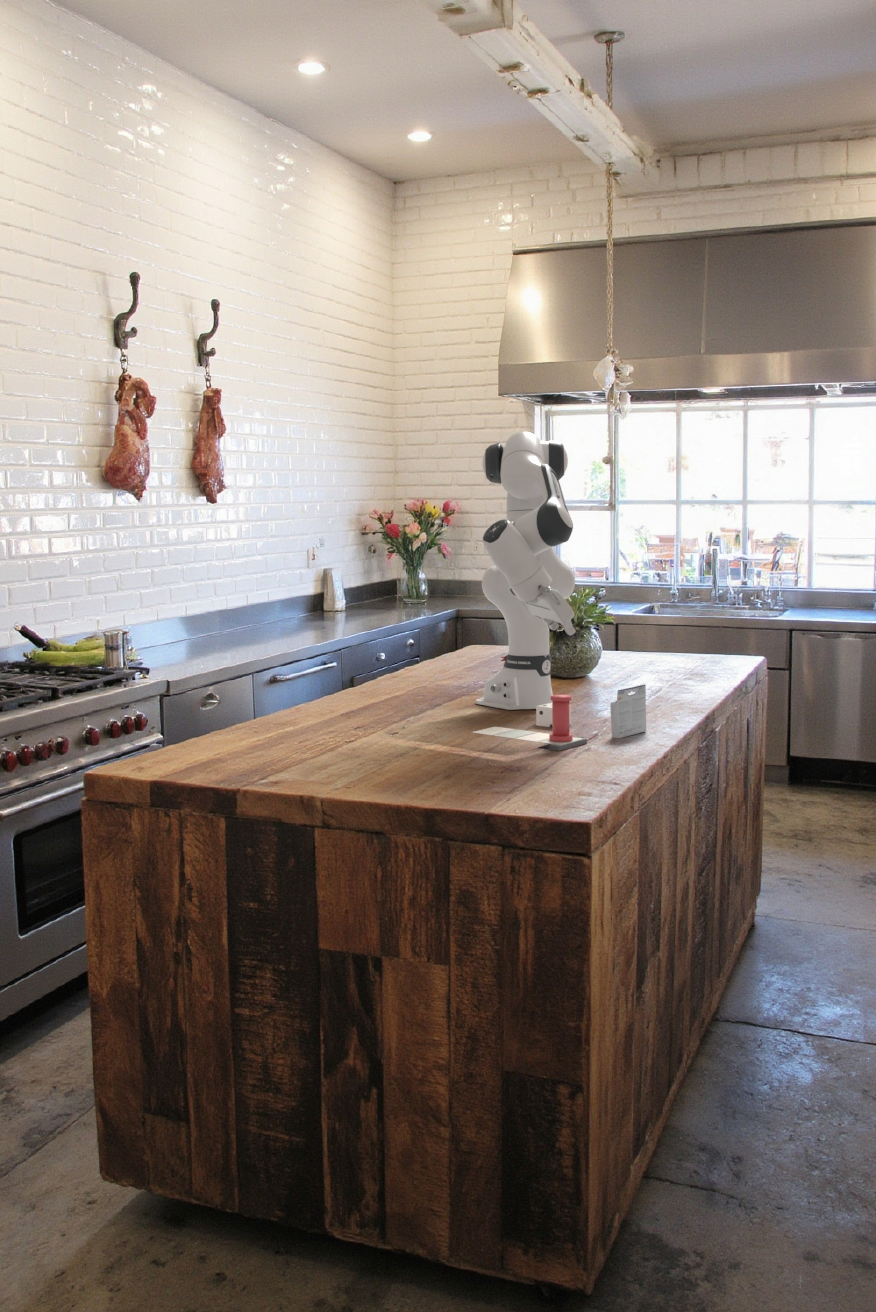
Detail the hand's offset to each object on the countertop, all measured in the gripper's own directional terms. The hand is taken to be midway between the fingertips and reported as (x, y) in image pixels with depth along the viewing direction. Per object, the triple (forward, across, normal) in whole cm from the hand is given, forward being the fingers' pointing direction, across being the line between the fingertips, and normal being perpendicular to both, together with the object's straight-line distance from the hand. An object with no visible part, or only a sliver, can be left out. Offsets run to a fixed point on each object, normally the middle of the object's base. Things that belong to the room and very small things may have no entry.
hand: (563, 631), depth 270 cm
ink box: (+29, -6, +3) cm, 29 cm away
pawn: (+16, -11, +18) cm, 26 cm away
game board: (+14, -3, +23) cm, 27 cm away
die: (+21, +7, +14) cm, 26 cm away
